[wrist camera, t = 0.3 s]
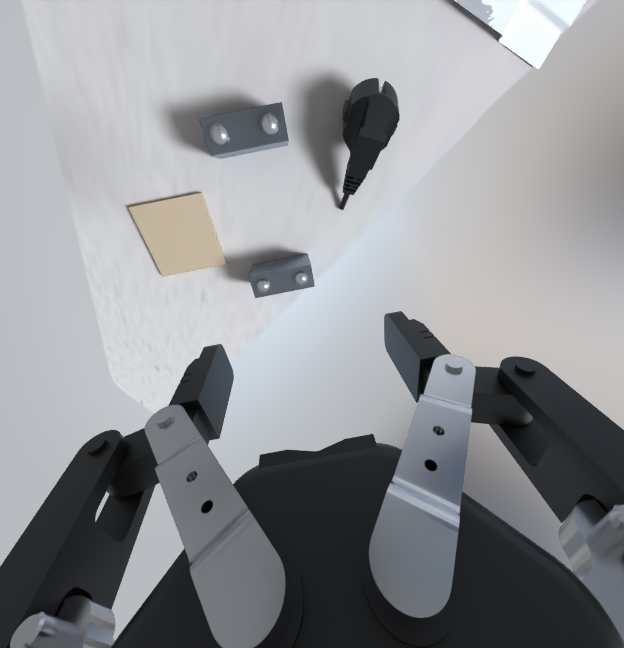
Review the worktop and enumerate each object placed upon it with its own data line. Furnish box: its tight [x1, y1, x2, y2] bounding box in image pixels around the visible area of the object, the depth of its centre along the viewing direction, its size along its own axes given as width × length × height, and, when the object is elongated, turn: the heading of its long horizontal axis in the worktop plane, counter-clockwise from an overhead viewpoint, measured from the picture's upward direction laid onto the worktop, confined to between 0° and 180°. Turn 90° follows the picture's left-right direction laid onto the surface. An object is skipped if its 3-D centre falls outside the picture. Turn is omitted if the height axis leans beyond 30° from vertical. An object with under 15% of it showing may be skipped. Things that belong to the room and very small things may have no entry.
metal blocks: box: [199, 102, 314, 298], centre depth 31 cm, size 19×8×6 cm, turn 10°
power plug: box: [339, 78, 399, 210], centre depth 30 cm, size 6×8×12 cm
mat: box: [128, 193, 226, 277], centre depth 34 cm, size 9×9×1 cm
